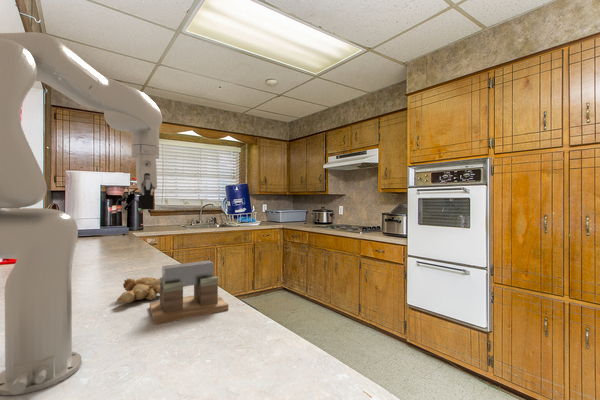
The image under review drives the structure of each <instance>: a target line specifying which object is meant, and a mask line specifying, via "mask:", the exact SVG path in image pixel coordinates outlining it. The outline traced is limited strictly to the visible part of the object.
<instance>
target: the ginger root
mask: <svg viewBox="0 0 600 400" xmlns="http://www.w3.org/2000/svg"><path fill="white" fill-rule="evenodd" d="M123 281H124V283H123V284H122V286H123V288H124V290H125V291H124V292H122V294H121V295H120V296H119V297H117V299H116V301H118V302H120V303H124V304H130V303H132V302H136V301H139V300H140V301H141V300H143V299H144V300H150V301H152V300H155V299H156V298H157V294H159V295H160V278H156V277H155V278H154V277H149V276H147V277H139V278H137V279H136V280H135V279H134V278H126V279H124V280H123Z"/></svg>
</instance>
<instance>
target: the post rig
mask: <svg viewBox="0 0 600 400" xmlns="http://www.w3.org/2000/svg"><path fill="white" fill-rule="evenodd" d="M159 279H160V294H159V301H153V302H149V310H150V313H151V316H152V320H153V323H154V325H159V324H163V323H164V324H165V323H169V322H175V321H179V320H183V319H184V318H185V319H189V317H190V318H194V317H198V316H204V315H208V314H213V313H218V312H223V311H228V310H229V304H228V303H227V302H226V301H225V300H224V299H223V298H222V297H221V296H220V295H219V294H218V293H219V291H218V288H219V285H218V284H219V280H218V276H214V277H209V278H202V279H200V284H197V285H193V295H189V296H188V295H187V296H184V287H183V282H182V281H180V282H173V283H166V284H163V287H162V277H159Z"/></svg>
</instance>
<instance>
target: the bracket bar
mask: <svg viewBox="0 0 600 400" xmlns="http://www.w3.org/2000/svg"><path fill="white" fill-rule="evenodd" d="M214 266H215V265H214V262H213V261H211V260H209V259H208V260H202V261H194V262H185V263H178V264H177V263H176V264H168V265H167V264H166V265H162V267H161V270H162V272H161V273H162V274H161V276H162V287H163V284H166V283H173V282H180V281H182V282H183V288H184V287H185V288H186V287H190V286H194V285H197V284H200V279H202V278H209V277H215V276H214Z"/></svg>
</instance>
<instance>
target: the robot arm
mask: <svg viewBox="0 0 600 400" xmlns="http://www.w3.org/2000/svg"><path fill="white" fill-rule="evenodd" d="M35 82H40V83H43V84H45V85H47V86H48V87H51V89H54V90H55V91H57V92H59V93H60V94H62V95H63V96H65V97H67V98H68V99H70V100H72V101H74V102H75V103H76V104H78V105H80V106H83V107H86V108H89V109H93V110H99V111H103V116H104V119H105V120H104V121H105V122H106V124H107V125H108V126H109V127H111V128H112V129H114V130H115V131H118V132H127V133H130V134H131V158H134V159H135V170H136V171H135V172H136V173H135V175H136V178H135V179H136V186H137V188H136V189H138V190H139V193H138V208H139V209H140V210H153V209H154V195H153V194H154V193H153V191H154V190H157V188H158V173H157V171H158V170H157V160H158V159H160V127H161V125H162V123H163V115H162V112H161V110H160V108H159V107H158V105H157V104H156V103H155V102H154V101H153V100H152V99H151V98H150V97H149V96H148V95H147V94H145V92H143V91H140V90H139V89H137V88H136V87H132V86H130V85H127V84H125V83H122V82H120V81H117V80H115V79H113V78H110V77H107V76H106V75H103V74H101V73H100V72H99V71H97V70H96V68H93V67H92V66H91V65H89V63H88V62H87V61H85V60H84V59H82V58H81V57H80V56H79V55H77V54H76V53H75V52H74V51H72V50H71V49H70V48H69V47H67V45H66V44H64V43H62V42H61V40H59V39H57V38H56V37H54V36H52V35H50V34H48V33H47V34H46V33H44V32H36V31H33V32H32V31H30V32H29V31H27V32H7V33H6V32H4V33H3V32H1V33H0V260H1V259H3V260H4V259H9V260H12V259H13V260H16V262H15V263H14V265H13V267H12V269H11V271H10V272H9V274H8V275H7V278H6V280H5V285H4V370H3V371H2V372H0V395H2V396H17V395H18V394H19V395H24V393H25V394H30V393H33V392H36V391H40V390H43V389H46V388H48V387H51V386H54V385H55V384H57V383H58V384H59V383H60V382H62V381H64V380H65V379H67V378H69V377H70V376H72V375H73V374H74V373H76V372H77V371H78V370H79V368H80V367H81V365H82V361H83V360H82V356H81V355H80V354H79V353H78V352H75V351H73V350H72V349H73V347H72V346H73V345H72V344H73V340H72V338H73V337H72V335H73V334H72V333H73V332H72V331H73V329H72V328H73V326H72V325H73V323H72V322H73V321H72V319H73V316H72V313H73V312H72V311H73V310H72V304H73V303H72V302H73V301H72V299H73V298H72V294H73V293H72V287H73V286H72V278H73V277H72V276H73V275H72V273H73V260H74V254H75V250H76V249H75V248H76V247H77V242H78V236H79V228H78V224H77V222H76V220H75V219H74V218H73V217H72V216H71V215H70V214H68V213H66V212H64V211H62V210H59V209H54V208H46V207H45V208H44V207H43V208H42V207H41V208H40V207H39V208H37V207H35V208H33V207H31V206H34V205H37V204H38V203H40V202H42V200H43V199H44V198H45V196H46V194H47V191H48V190H47V189H48V186H47V182H46V179H45V176H44V174H43V172H42V169H41V167H40V165H39V162H38V160H37V159H36V156H35V154H34V152H33V150H32V148H31V146H30V143H29V142H28V140H27V138H26V135H25V132H24V130H23V127H22V123H21V109H22V105H23V103H24V101H25V99H26V97H27V95H28V94H29V92H30V90H31V89H32V88H33V86H34V85H35ZM27 207H28V208H27ZM30 207H31V208H30ZM29 392H30V393H29ZM19 395H18V396H19Z"/></svg>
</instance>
